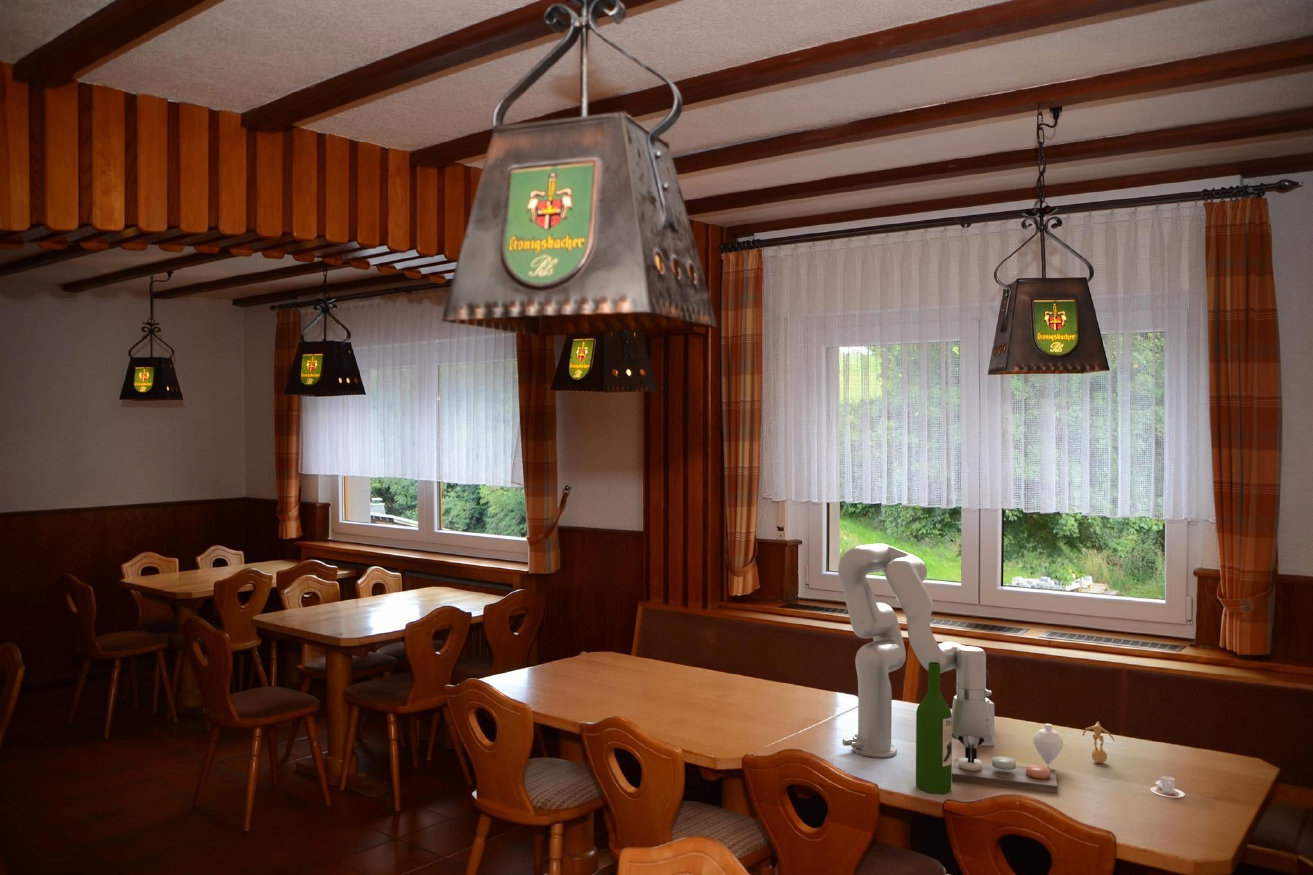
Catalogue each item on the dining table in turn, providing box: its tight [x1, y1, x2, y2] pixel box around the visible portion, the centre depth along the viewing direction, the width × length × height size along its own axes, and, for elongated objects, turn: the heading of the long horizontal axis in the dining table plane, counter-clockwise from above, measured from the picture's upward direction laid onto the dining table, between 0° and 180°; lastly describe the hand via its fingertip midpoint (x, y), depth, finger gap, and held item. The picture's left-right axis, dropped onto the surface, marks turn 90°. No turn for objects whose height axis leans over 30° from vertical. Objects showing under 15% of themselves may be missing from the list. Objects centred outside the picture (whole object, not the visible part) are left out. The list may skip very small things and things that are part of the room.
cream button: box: [958, 757, 983, 771], centre depth 261 cm, size 6×6×2 cm
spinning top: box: [1032, 723, 1064, 769], centre depth 268 cm, size 8×8×12 cm
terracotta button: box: [1025, 764, 1051, 779], centre depth 255 cm, size 6×6×2 cm
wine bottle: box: [915, 662, 953, 795], centre depth 251 cm, size 9×9×32 cm
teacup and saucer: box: [1150, 775, 1186, 799], centre depth 249 cm, size 9×8×4 cm
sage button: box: [991, 756, 1017, 770], centre depth 258 cm, size 6×6×2 cm
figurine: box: [1082, 721, 1115, 764], centre depth 271 cm, size 8×6×12 cm
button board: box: [951, 758, 1058, 795], centre depth 258 cm, size 13×26×2 cm, turn 70°
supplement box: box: [968, 699, 995, 747], centre depth 290 cm, size 7×7×13 cm
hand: (971, 761), depth 261 cm, fingers closed
